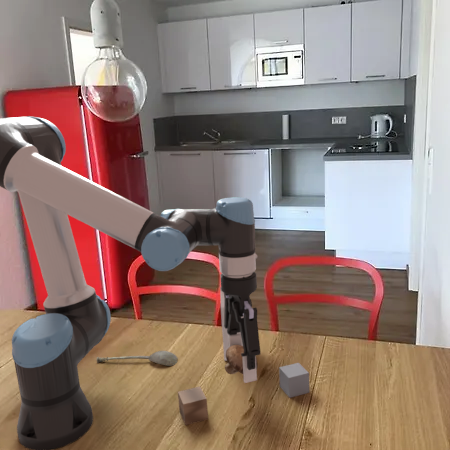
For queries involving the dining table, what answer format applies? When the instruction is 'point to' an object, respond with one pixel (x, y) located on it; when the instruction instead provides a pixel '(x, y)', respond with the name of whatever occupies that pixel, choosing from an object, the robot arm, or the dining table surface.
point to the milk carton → (224, 331)
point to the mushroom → (235, 359)
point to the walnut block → (193, 405)
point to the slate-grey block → (294, 380)
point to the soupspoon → (150, 358)
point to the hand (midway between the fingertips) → (242, 370)
